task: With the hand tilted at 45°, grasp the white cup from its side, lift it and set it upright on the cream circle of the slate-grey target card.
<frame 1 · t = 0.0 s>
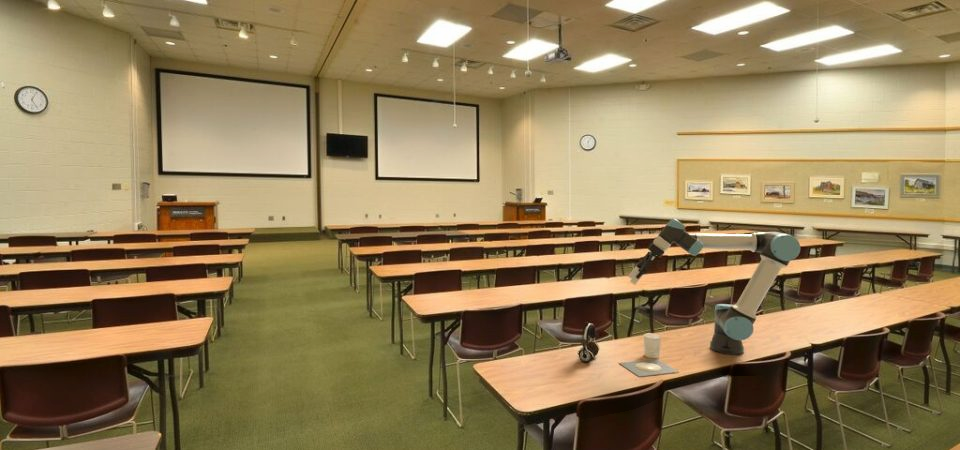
hand: (631, 280, 228), 36 cm above the table, tool tilted 35°, fingers open, 13 cm apart
white cup: (651, 356, 223), on the table
headset: (588, 359, 219), on the table
target card: (648, 368, 208), on the table
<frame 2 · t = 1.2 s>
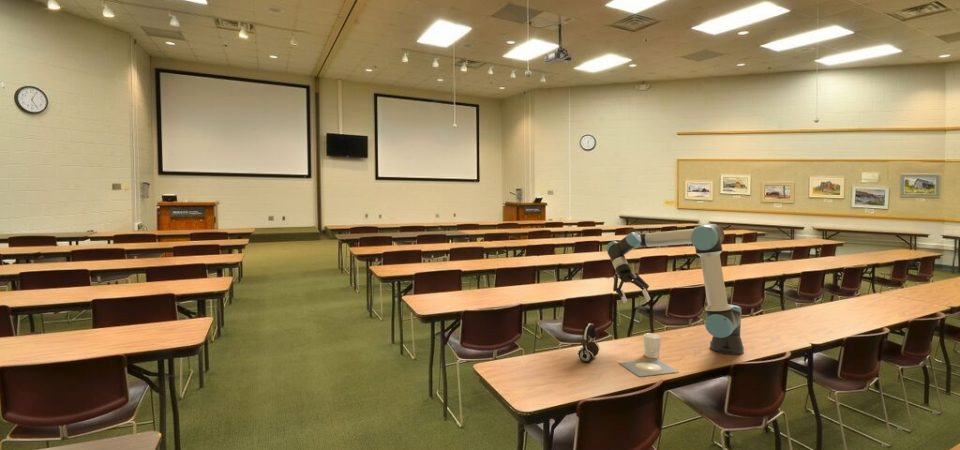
hand: (637, 301, 234), 24 cm above the table, tool tilted 45°, fingers open, 13 cm apart
nothing on the table moved.
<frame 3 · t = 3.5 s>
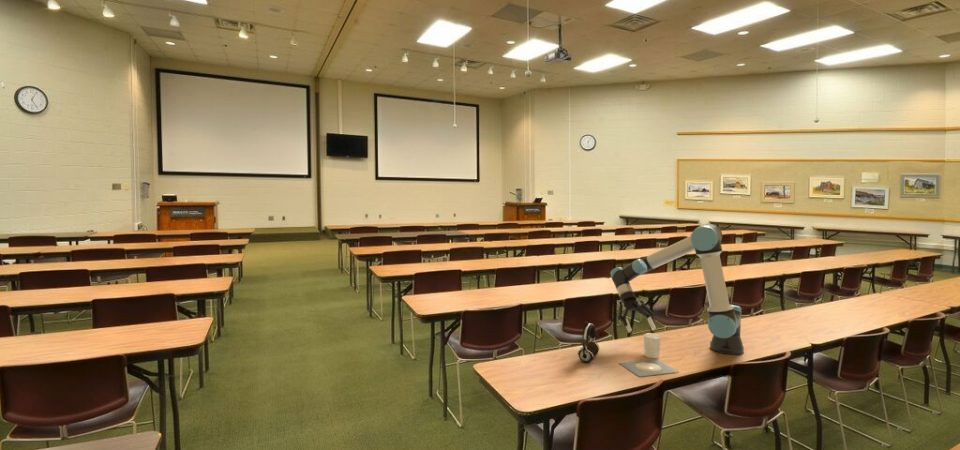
hand: (642, 330, 229), 11 cm above the table, tool tilted 45°, fingers open, 13 cm apart
nothing on the table moved.
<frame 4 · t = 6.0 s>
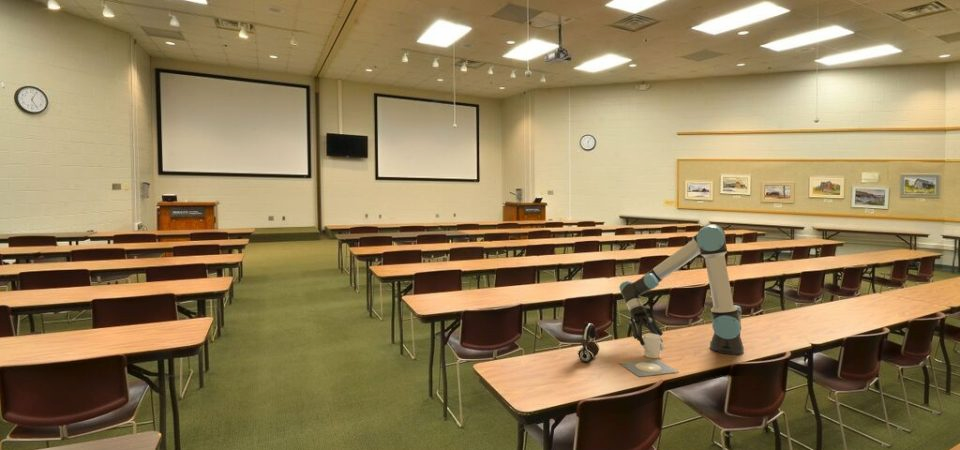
hand: (655, 350, 221), 4 cm above the table, tool tilted 45°, fingers closed on white cup, 8 cm apart
white cup: (651, 356, 223), on the table, touching gripper
everything else where it was.
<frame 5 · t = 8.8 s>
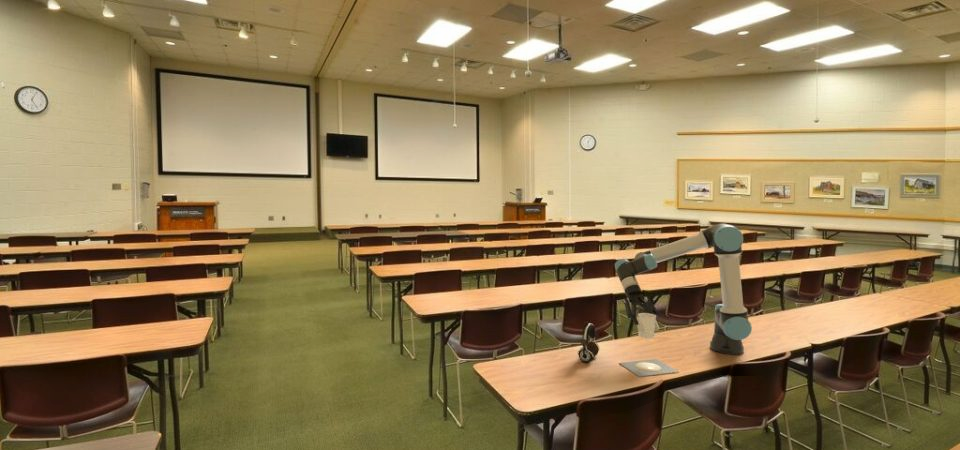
hand: (649, 330, 210), 17 cm above the table, tool tilted 45°, fingers closed on white cup, 8 cm apart
white cup: (646, 336, 212), point 13 cm above the table, touching gripper
everything else where it was.
when the fingers open (4 cm above the table, at t = 11.5 s): white cup stays where it is, resting on target card.
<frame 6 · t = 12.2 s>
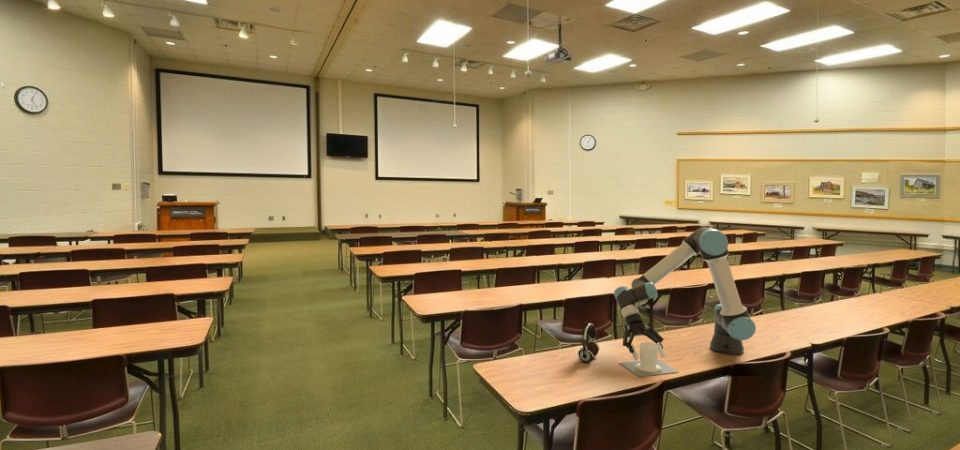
hand: (650, 358, 206), 5 cm above the table, tool tilted 45°, fingers open, 13 cm apart
white cup: (648, 367, 208), resting on target card
everything else where it was.
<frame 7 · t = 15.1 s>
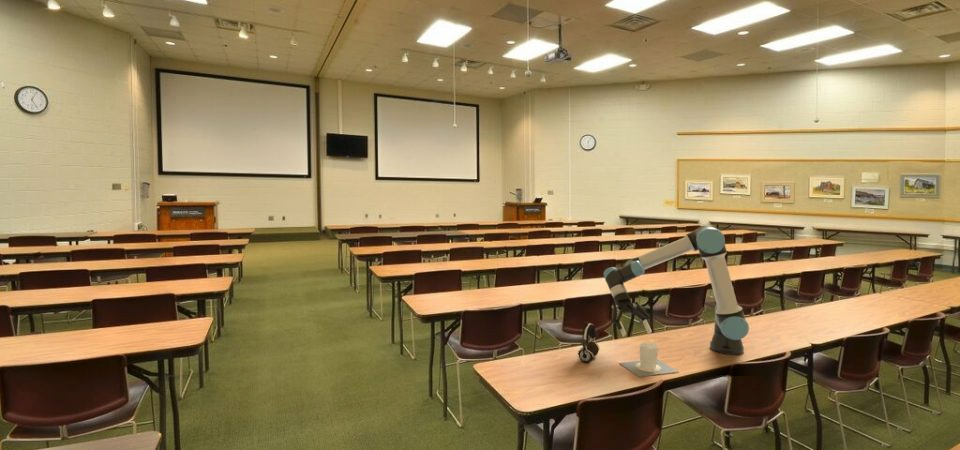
hand: (637, 334, 216), 13 cm above the table, tool tilted 45°, fingers open, 13 cm apart
nothing on the table moved.
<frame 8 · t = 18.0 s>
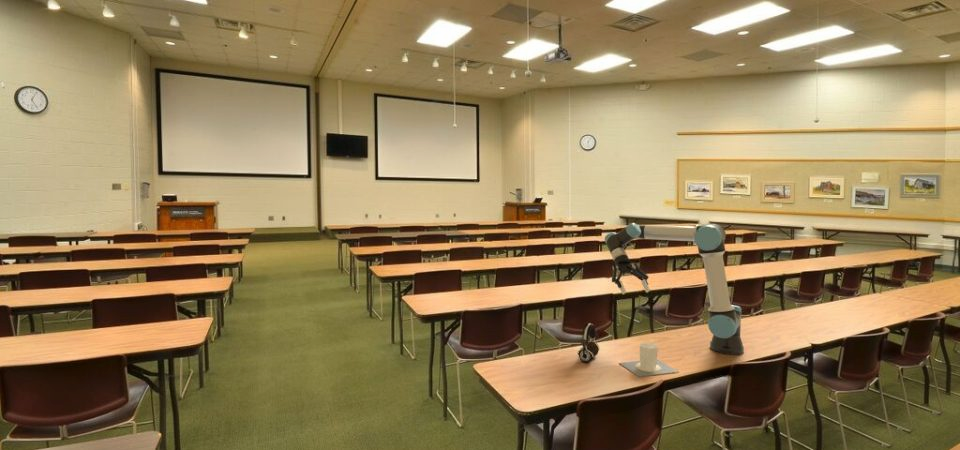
hand: (636, 292, 230), 30 cm above the table, tool tilted 45°, fingers open, 13 cm apart
nothing on the table moved.
at the end: white cup inside the target area on the target card (0.1 cm from its centre), point 0.3 cm above the target card's base; white cup tilted 0°; the gripper is holding nothing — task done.
